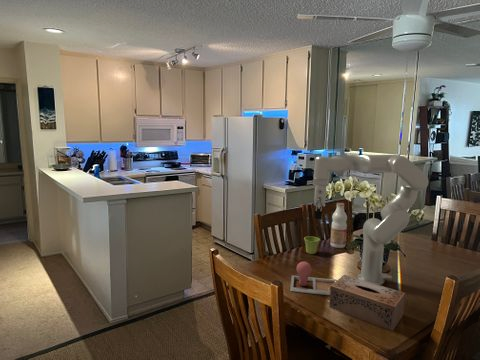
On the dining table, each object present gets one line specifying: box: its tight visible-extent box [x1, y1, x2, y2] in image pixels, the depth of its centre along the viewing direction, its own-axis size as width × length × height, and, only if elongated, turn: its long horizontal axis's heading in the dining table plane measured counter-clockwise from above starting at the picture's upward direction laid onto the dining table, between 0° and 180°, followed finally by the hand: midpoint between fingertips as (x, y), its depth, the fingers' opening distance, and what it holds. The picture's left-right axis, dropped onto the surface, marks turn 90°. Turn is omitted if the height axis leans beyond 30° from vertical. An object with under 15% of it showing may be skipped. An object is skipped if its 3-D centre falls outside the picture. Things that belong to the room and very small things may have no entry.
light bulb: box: [296, 261, 313, 287], centre depth 163 cm, size 7×7×12 cm
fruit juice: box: [330, 202, 348, 249], centre depth 218 cm, size 9×9×28 cm
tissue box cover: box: [328, 274, 406, 332], centre depth 142 cm, size 26×14×10 cm, turn 51°
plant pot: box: [303, 236, 321, 255], centre depth 208 cm, size 9×9×9 cm
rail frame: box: [290, 275, 338, 296], centre depth 163 cm, size 22×14×2 cm, turn 79°
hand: (317, 216), depth 167 cm, fingers open, 9 cm apart
